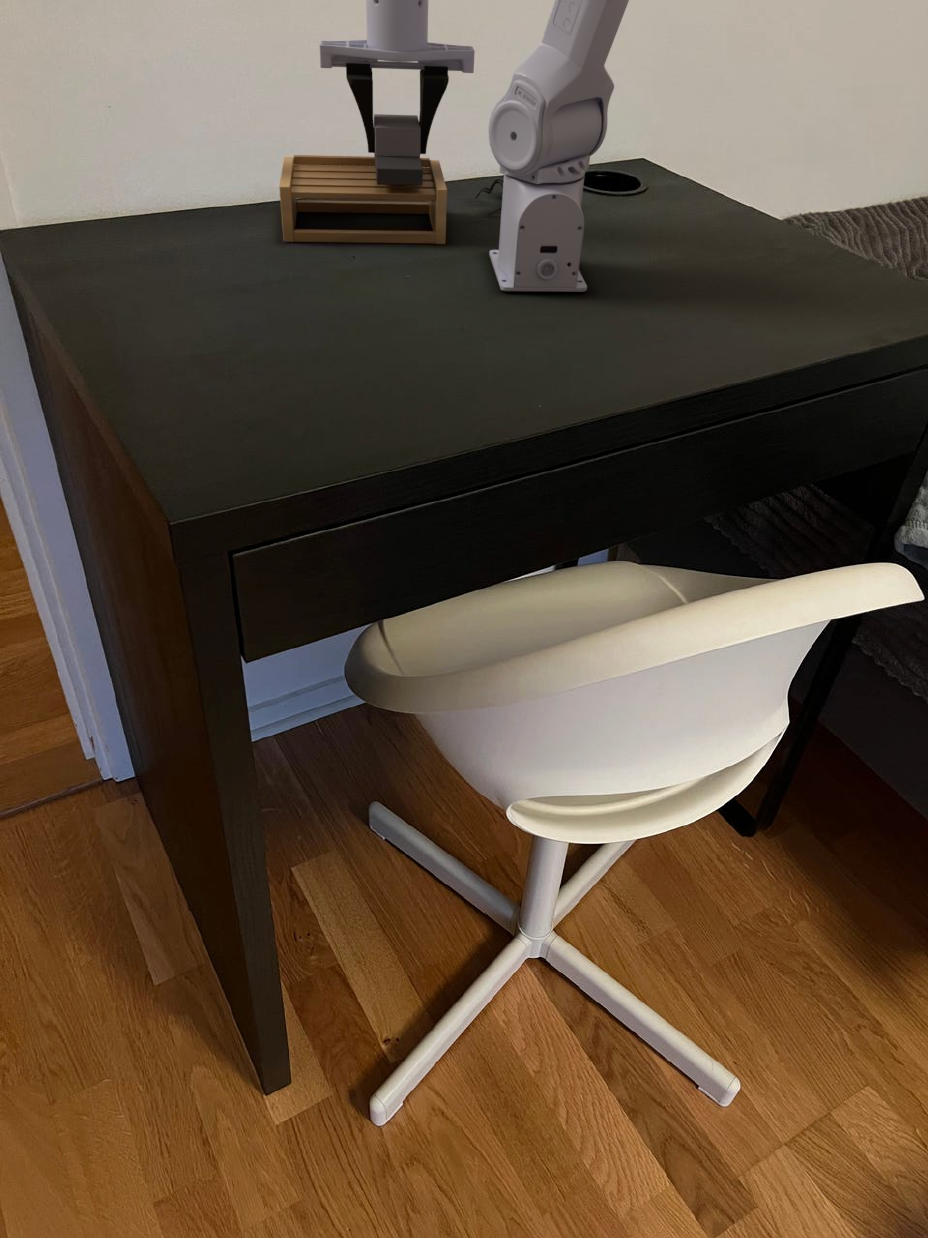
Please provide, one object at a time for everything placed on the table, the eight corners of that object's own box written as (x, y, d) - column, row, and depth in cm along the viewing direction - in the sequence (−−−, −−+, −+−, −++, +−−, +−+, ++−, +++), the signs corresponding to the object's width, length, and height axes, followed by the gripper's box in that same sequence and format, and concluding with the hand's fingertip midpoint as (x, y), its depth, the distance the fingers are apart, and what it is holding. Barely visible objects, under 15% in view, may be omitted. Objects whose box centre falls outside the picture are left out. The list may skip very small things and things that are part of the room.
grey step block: (422, 185, 92) (423, 139, 89) (377, 184, 91) (376, 138, 88) (416, 158, 98) (417, 114, 96) (374, 157, 98) (373, 113, 95)
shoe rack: (445, 244, 95) (447, 187, 91) (283, 242, 93) (279, 184, 90) (437, 211, 102) (439, 157, 99) (287, 209, 101) (283, 154, 97)
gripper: (471, -14, 90) (464, 141, 99) (317, -21, 89) (324, 137, 97) (479, -2, 85) (471, 160, 94) (316, -9, 83) (323, 157, 92)
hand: (397, 150), depth 95 cm, fingers closed on grey step block, 4 cm apart
